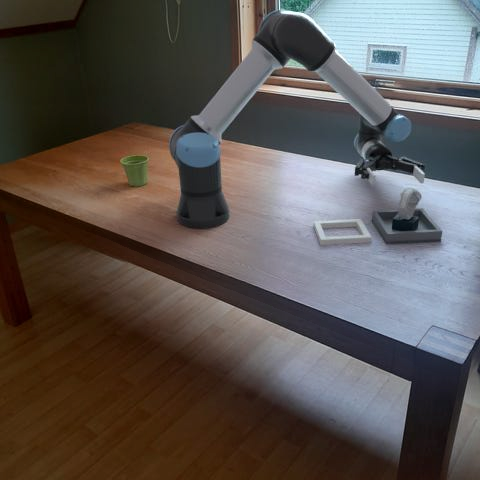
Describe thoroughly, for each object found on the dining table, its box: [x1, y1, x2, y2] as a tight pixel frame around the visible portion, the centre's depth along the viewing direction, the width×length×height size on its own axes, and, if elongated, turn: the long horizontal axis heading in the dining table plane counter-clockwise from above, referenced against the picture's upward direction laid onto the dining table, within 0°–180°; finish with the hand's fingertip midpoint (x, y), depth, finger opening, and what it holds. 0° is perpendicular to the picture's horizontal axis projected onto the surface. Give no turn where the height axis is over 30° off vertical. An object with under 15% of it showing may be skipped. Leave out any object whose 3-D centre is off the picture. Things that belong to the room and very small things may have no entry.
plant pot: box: [119, 154, 150, 188], centre depth 174 cm, size 9×9×9 cm
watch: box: [392, 187, 422, 231], centre depth 135 cm, size 6×8×11 cm
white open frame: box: [313, 218, 372, 246], centre depth 137 cm, size 13×11×2 cm
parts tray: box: [371, 208, 443, 245], centre depth 137 cm, size 14×14×3 cm
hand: (398, 179), depth 141 cm, fingers open, 13 cm apart
